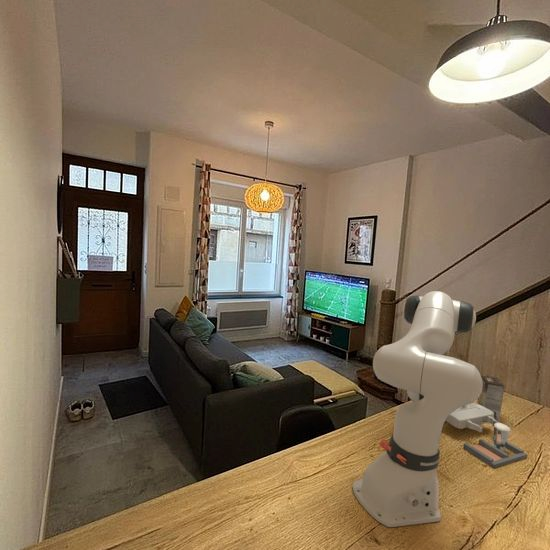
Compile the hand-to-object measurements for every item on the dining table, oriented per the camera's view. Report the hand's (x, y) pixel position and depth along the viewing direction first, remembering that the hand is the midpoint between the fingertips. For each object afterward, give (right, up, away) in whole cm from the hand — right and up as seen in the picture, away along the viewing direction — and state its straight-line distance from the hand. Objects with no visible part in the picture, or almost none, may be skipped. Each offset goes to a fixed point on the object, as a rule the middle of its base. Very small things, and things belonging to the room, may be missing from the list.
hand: (490, 427), depth 112 cm
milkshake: (+1, -6, -3) cm, 7 cm away
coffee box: (+13, -6, +21) cm, 25 cm away
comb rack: (-2, -6, -4) cm, 8 cm away
